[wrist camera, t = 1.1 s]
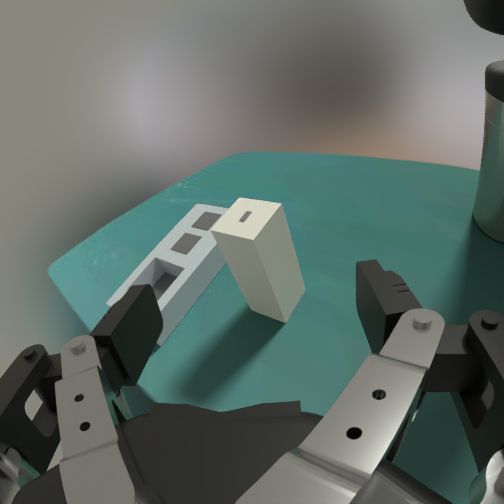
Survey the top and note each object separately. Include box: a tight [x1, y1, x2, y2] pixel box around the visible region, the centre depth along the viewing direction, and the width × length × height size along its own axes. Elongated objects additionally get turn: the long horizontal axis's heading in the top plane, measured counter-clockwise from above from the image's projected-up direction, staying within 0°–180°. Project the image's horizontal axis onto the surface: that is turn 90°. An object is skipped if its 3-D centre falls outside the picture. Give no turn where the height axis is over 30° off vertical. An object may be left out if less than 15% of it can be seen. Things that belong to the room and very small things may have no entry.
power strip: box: [106, 204, 229, 346], centre depth 40 cm, size 20×9×4 cm, turn 147°
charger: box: [211, 198, 306, 323], centre depth 30 cm, size 4×4×12 cm
